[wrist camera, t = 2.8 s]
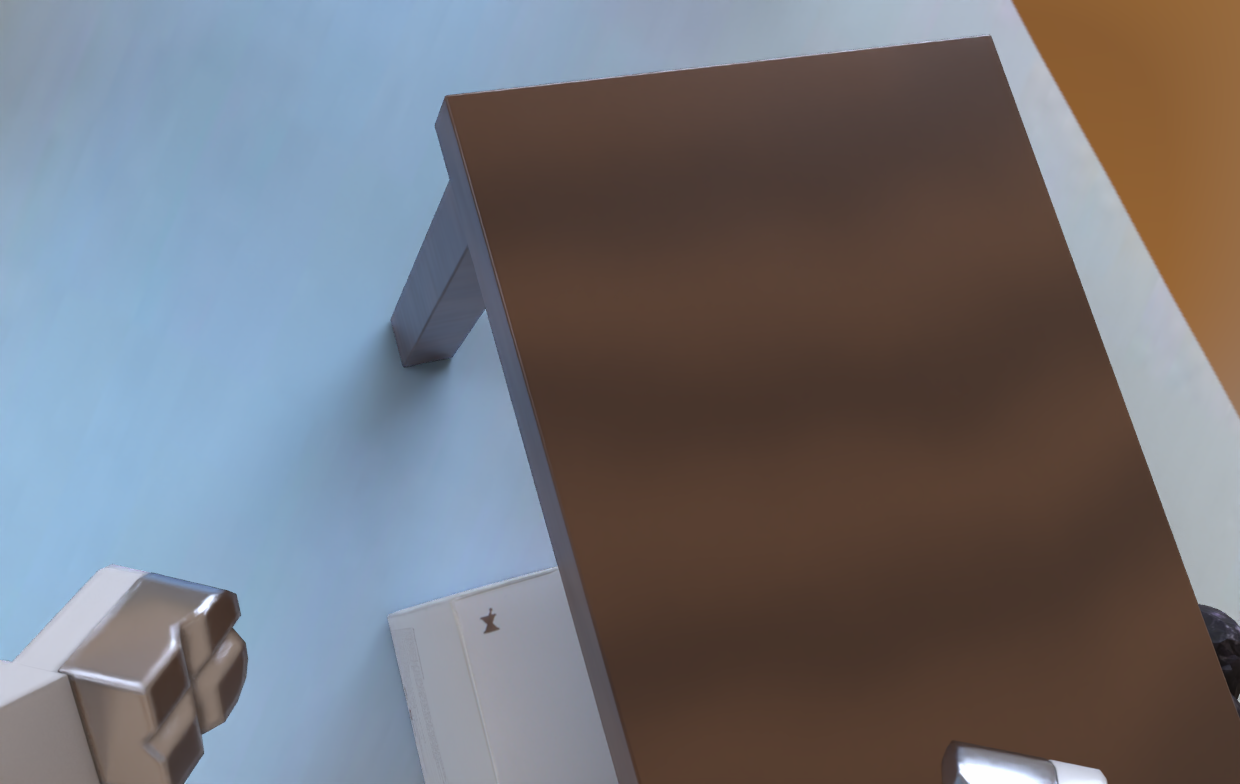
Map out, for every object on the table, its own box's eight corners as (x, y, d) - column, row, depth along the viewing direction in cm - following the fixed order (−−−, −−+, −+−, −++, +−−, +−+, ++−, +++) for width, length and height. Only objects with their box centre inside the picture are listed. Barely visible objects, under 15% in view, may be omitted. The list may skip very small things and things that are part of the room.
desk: (363, 324, 41) (444, 94, 24) (726, 255, 46) (991, 32, 30) (563, 1086, 37) (823, 1439, 20) (931, 904, 43) (1366, 1062, 26)
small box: (424, 790, 37) (506, 854, 25) (383, 613, 38) (444, 593, 26) (632, 720, 40) (794, 747, 28) (589, 557, 41) (728, 517, 29)
